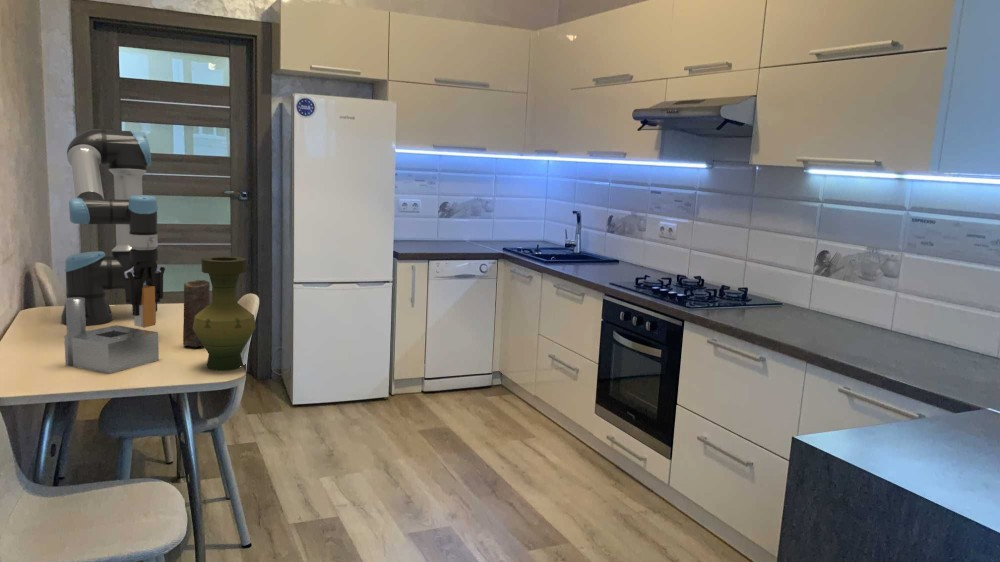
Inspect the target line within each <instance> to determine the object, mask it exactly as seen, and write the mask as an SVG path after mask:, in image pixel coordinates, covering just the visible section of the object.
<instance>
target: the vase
mask: <svg viewBox="0 0 1000 562" xmlns="http://www.w3.org/2000/svg"><path fill="white" fill-rule="evenodd" d="M201 272H202V273H203V274H208V276H209V280H210V284H211V299H212V300H211V302H210V303H209V305H208V306H207V307H205V308H204V309H203V310H202V311H200V312H199V313H198V314H196V315H195V316H194V322H193V330H194V332H195V333H196V335H197V336H198V338H199V340H200V341H201V343H202V344H203V345H202V347H203V348H204V349H205V350H206V352H207V355H208V357H207V362H206V366H207V367H206V368H207V369H208V370H211V371H221V372H222V371H223V372H224V371H226V372H227V371H234V370H237V368H238V369H240V368H239V367H240V366H242V367H243V366H244V364H243V363H244V362H243V359H242V358H243V357H242V355H241V354H242V351H243V350H244V348H245V347H246V345H247V343H248V342H249V340H250V339H251V337H252V335H253V334H254V332H255V331H256V328H257V326H256V319H255V315H254V314H253V313H252V312H250V311H249V310H248V309H246V308H245V307H244V306H242V305H241V304H240V303H238V302H237V286H238V281H239V277H240V274H245V273H246V272H247V259H246V258H244V257H239V256H226V255H225V256H223V255H222V256H206V257H203V258H201Z"/></svg>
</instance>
